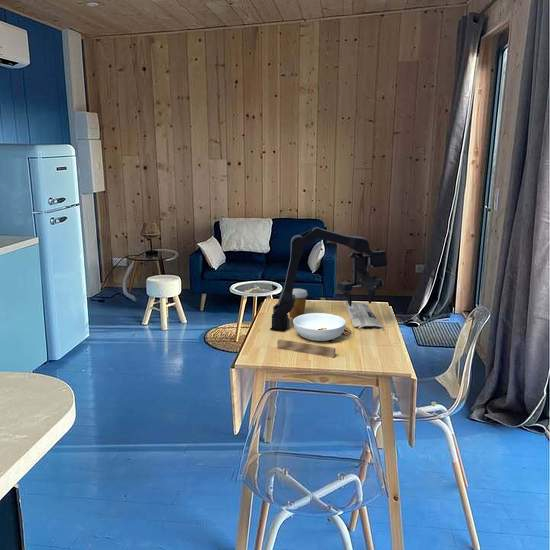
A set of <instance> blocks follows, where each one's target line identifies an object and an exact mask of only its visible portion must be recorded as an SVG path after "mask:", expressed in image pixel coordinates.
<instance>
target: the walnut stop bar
mask: <svg viewBox="0 0 550 550" xmlns="http://www.w3.org/2000/svg"><path fill="white" fill-rule="evenodd" d="M277 349H278V350H279V349H280V350H285V351H291V352H298V353H301V354H309V355H314V356H320V355H321V357H327V358H332V359H333V358H335V357H336V347H332V346H325V345H317V344H312V343H306V342H298V341H293V340H287V339H278V340H277Z"/></svg>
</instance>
